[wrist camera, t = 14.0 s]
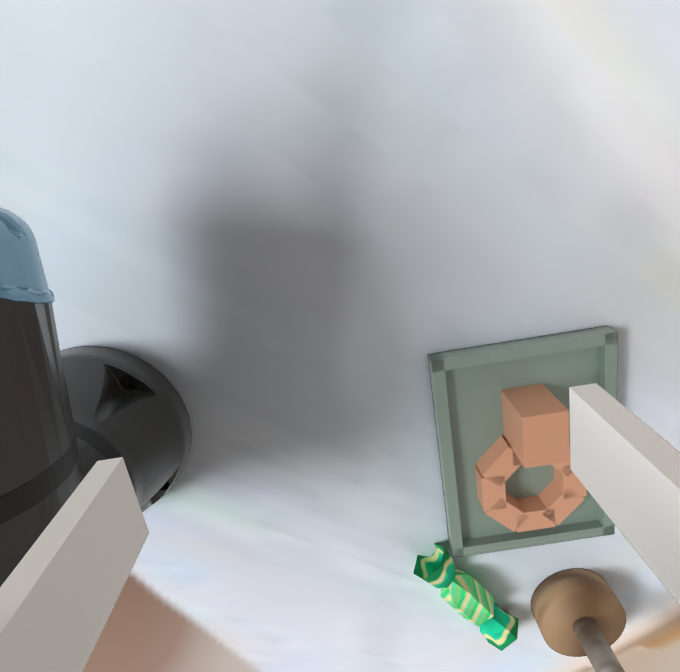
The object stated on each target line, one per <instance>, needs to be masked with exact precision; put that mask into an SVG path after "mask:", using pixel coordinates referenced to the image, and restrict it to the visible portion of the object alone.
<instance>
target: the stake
mask: <svg viewBox="0 0 680 672" xmlns="http://www.w3.org/2000/svg"><path fill="white" fill-rule="evenodd" d="M531 610H532V613H533V616H534V618H535V620H536V622H537V624H538V627H539V629H540V631H541V633H542V635H543V637H544V640H545V642H546V643H547V645H548V646H549V647H550V648H551V649H553V650H554V651H556V652H558V653H560V654H563V655H566V656H573V657H580V656H588V658H589V660H590V662H591V664H592V666H593V668H594V670H595V671H596V672H625V671H624V670H623V668H622V666H621V664H620V663H619V661H618V659H617V658H616V656H615V654H614V652H613V651H612V649H611V647H610V646H611V645H612V644H613V643H614V642H615V641H616V640H617V639H618V638H619V637H620V635H621V634H622V632H623V630H624V628H625V624H626V614H625V611H624V608H623V607H622V605H621V604H620V602H619V601H618V599H617V598H616V596H615V595H614V593H613V592H612V590H611V589H610V587H609V586H608V584H607V583H606V581H605V580H604V579H603V578H602V577H601V576H600V575H599V574H597V573H595V572H593V571H590V570H586V569H567V570H563V571H560V572H557V573H555V574H553V575H551V576H549V577H548V578H546V579H545V580H544V581H542V582H541V583H540V584H539V585H538V587H537V588H536V589H535V591H534V593H533V596H532V599H531Z"/></svg>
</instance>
